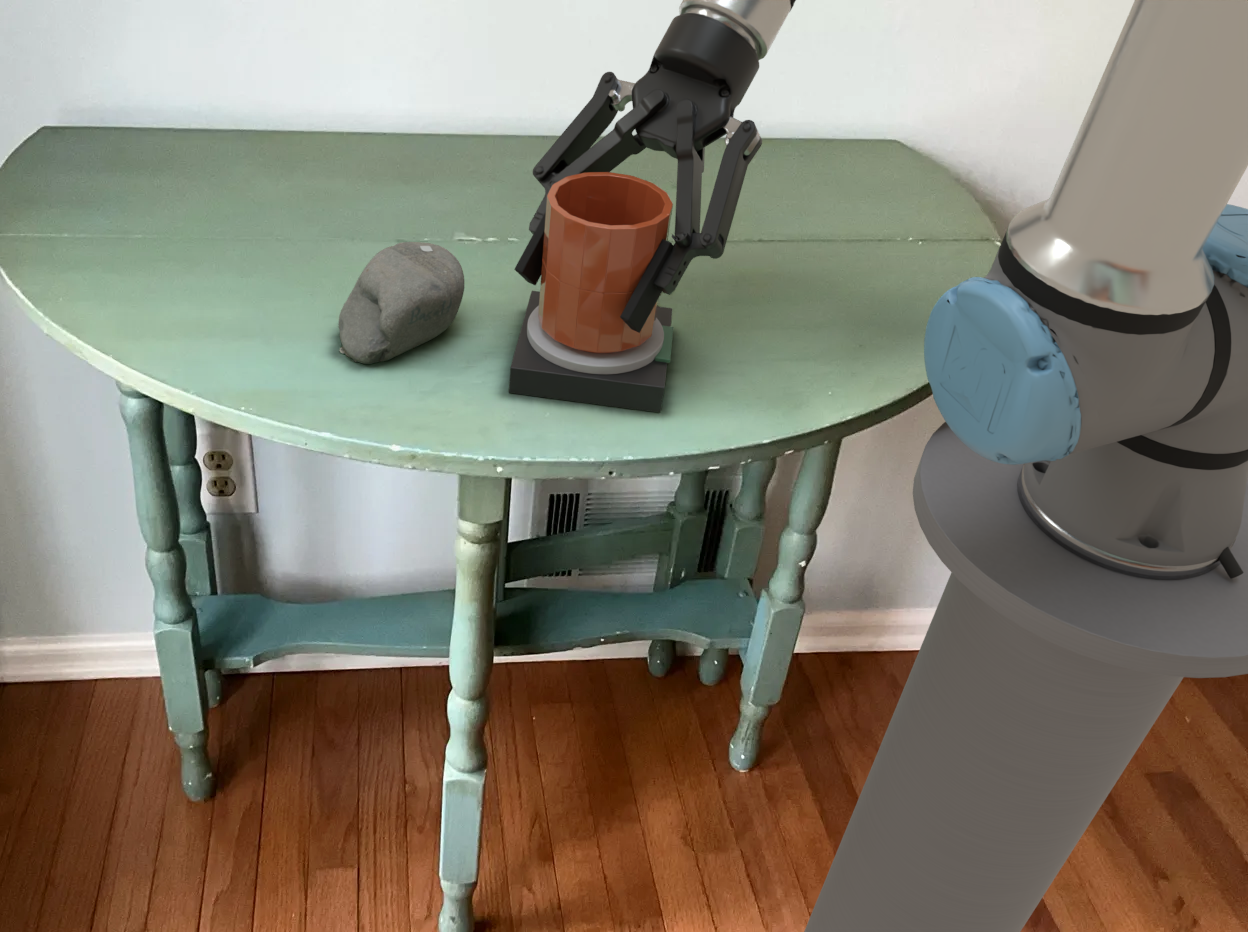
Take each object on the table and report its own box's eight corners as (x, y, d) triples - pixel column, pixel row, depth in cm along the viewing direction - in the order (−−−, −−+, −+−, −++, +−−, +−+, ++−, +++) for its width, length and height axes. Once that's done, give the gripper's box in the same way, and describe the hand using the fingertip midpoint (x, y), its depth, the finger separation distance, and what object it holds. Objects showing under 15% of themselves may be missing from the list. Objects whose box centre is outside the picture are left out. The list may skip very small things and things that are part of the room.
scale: (671, 332, 101) (676, 299, 99) (663, 413, 93) (668, 379, 90) (529, 314, 102) (532, 281, 100) (508, 393, 93) (510, 358, 91)
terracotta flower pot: (675, 341, 94) (697, 213, 87) (580, 370, 91) (593, 239, 83) (610, 287, 100) (624, 163, 93) (517, 313, 96) (524, 185, 89)
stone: (311, 321, 99) (357, 212, 95) (395, 339, 105) (442, 237, 101) (361, 376, 94) (412, 262, 90) (447, 392, 100) (498, 286, 96)
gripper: (857, 106, 89) (710, 371, 90) (616, 28, 98) (486, 269, 99) (841, 51, 82) (683, 338, 83) (584, -27, 91) (445, 232, 92)
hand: (576, 300), depth 91 cm, fingers closed on terracotta flower pot, 9 cm apart
